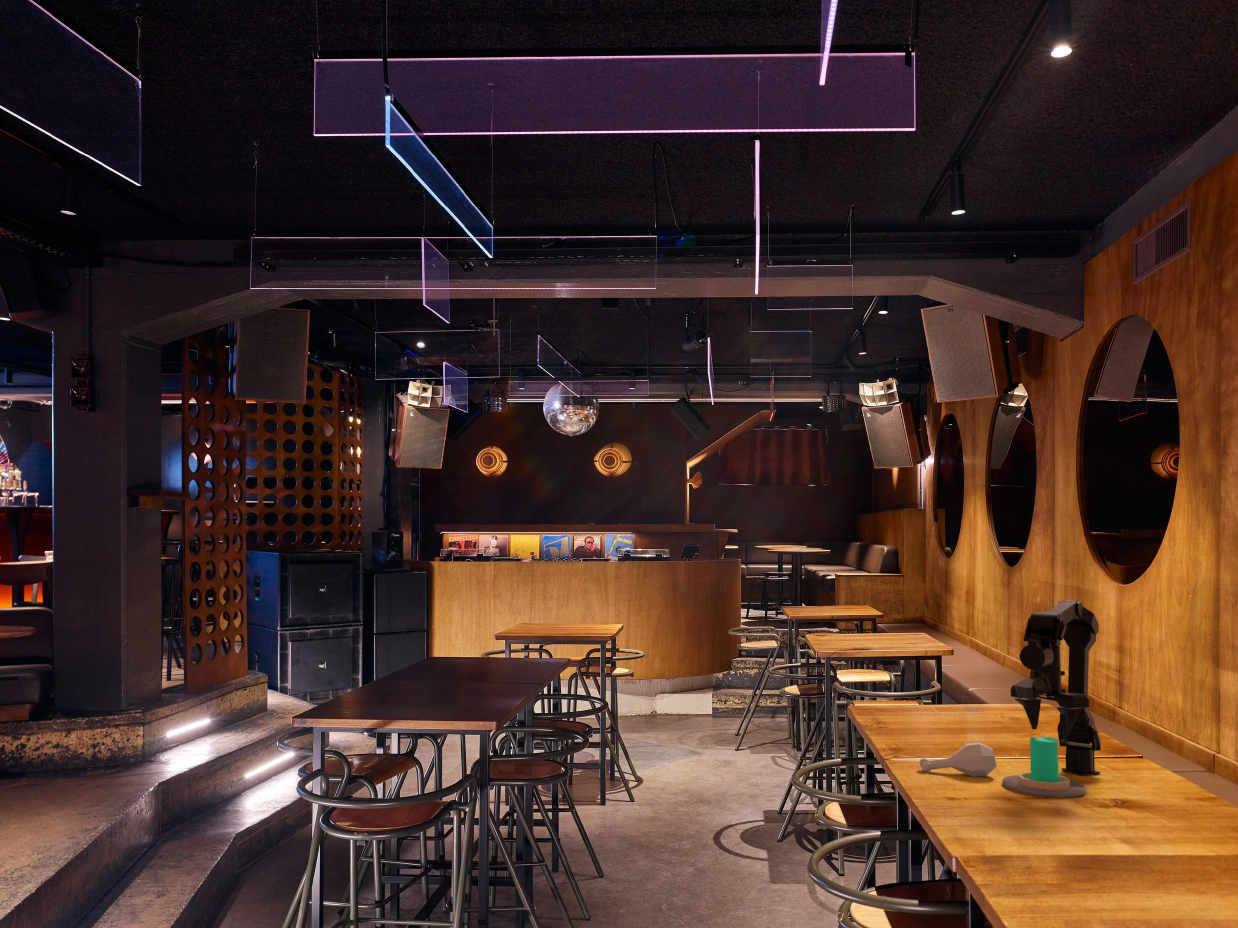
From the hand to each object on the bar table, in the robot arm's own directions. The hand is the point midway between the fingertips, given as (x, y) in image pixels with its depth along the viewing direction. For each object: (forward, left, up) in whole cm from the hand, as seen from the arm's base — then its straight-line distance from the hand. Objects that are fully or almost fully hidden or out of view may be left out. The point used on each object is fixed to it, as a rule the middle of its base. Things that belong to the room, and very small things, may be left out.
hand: (1049, 732), depth 224 cm
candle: (+2, 0, -12) cm, 12 cm away
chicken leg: (+11, -19, -13) cm, 25 cm away
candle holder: (+2, 0, -13) cm, 13 cm away
